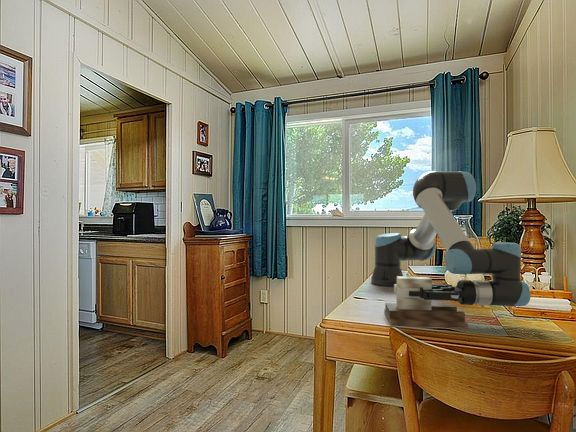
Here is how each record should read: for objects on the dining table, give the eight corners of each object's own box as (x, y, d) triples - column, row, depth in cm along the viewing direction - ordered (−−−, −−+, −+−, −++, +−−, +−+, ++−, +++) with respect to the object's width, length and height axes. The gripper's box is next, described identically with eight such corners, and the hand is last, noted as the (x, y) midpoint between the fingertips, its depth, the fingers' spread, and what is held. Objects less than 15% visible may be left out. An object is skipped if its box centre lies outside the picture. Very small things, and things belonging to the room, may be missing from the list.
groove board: (452, 314, 123) (452, 303, 123) (467, 328, 109) (467, 315, 109) (384, 312, 126) (384, 301, 126) (390, 325, 112) (390, 312, 112)
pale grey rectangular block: (428, 314, 119) (428, 277, 119) (431, 317, 116) (431, 279, 115) (396, 313, 120) (396, 276, 120) (398, 316, 117) (398, 278, 117)
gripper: (484, 312, 107) (400, 309, 110) (462, 297, 125) (391, 295, 128) (484, 286, 107) (401, 284, 109) (462, 275, 125) (391, 273, 127)
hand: (395, 290), depth 119 cm, fingers open, 5 cm apart
